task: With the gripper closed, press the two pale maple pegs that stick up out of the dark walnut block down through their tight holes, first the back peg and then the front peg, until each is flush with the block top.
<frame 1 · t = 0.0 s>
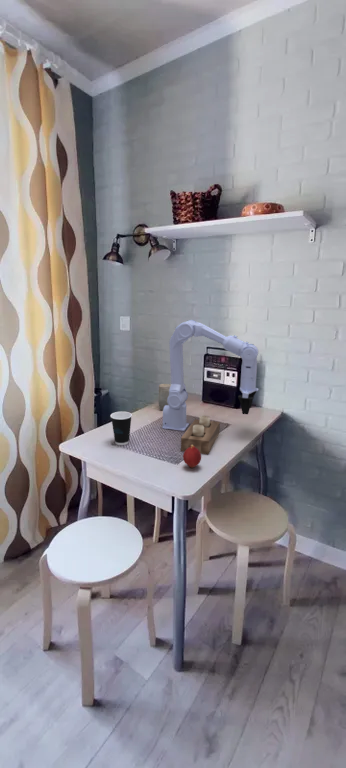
hand: (246, 410, 150), 10 cm above the table, tool pointing down, fingers open, 7 cm apart
carving: (165, 409, 183), on the table
walnut block: (201, 441, 146), on the table
dixie cup: (122, 443, 145), on the table
peg front: (198, 432, 140), point 6 cm above the table, slide at 0.0 cm
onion: (192, 467, 126), on the table
peg back: (204, 423, 149), point 6 cm above the table, slide at 0.0 cm
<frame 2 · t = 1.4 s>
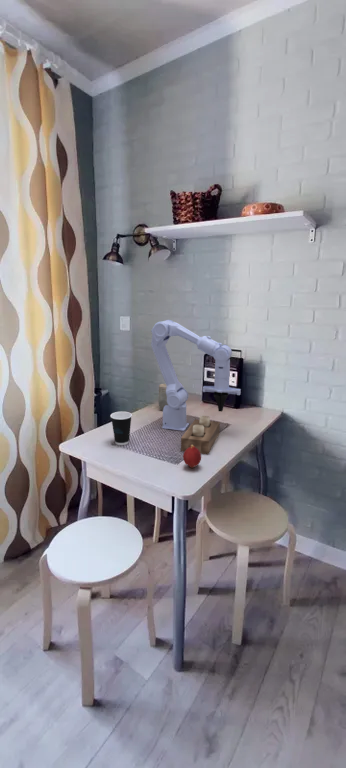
hand: (220, 410, 153), 9 cm above the table, tool pointing down, fingers closed
nothing on the table moved.
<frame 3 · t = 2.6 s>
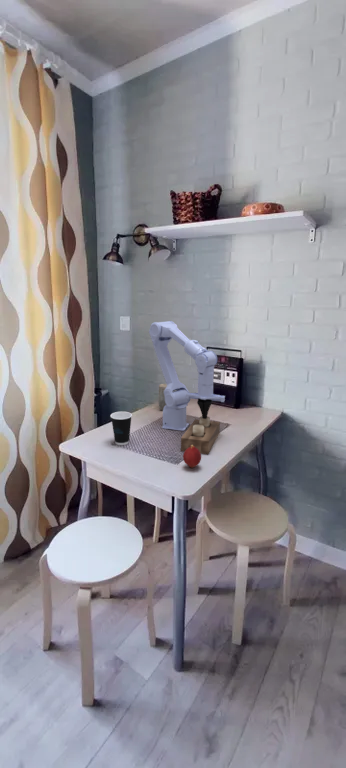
hand: (204, 417, 149), 8 cm above the table, tool pointing down, fingers closed, pressing on peg back
peg back: (204, 423, 149), point 6 cm above the table, slide at 0.1 cm, touching gripper
everything else where it was.
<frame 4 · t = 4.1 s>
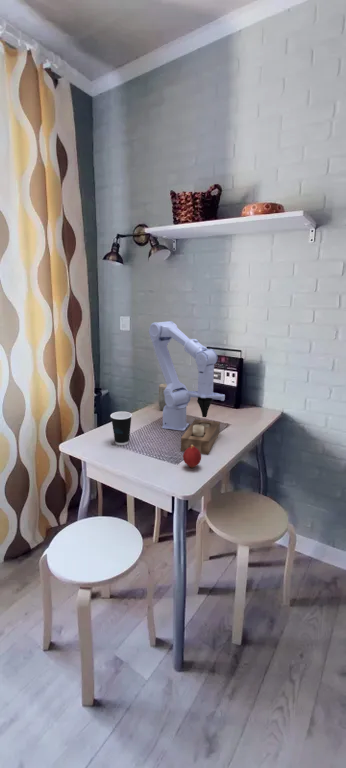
hand: (204, 416, 149), 8 cm above the table, tool pointing down, fingers closed
peg back: (204, 430, 150), point 3 cm above the table, slide at 3.2 cm
everything else where it was.
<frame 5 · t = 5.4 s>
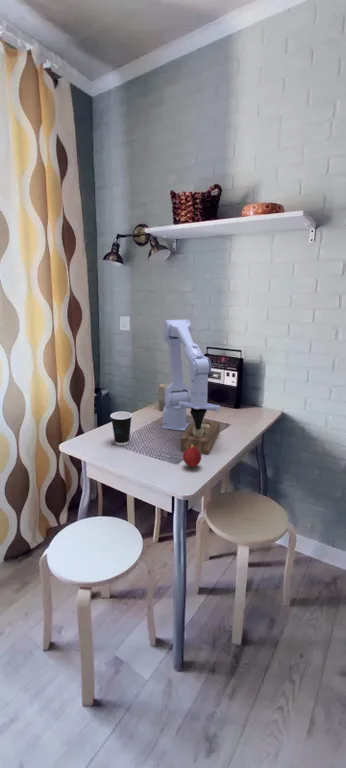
hand: (198, 428, 140), 7 cm above the table, tool pointing down, fingers closed, pressing on peg front
peg front: (198, 434, 140), point 5 cm above the table, slide at 0.6 cm, touching gripper
everything else where it was.
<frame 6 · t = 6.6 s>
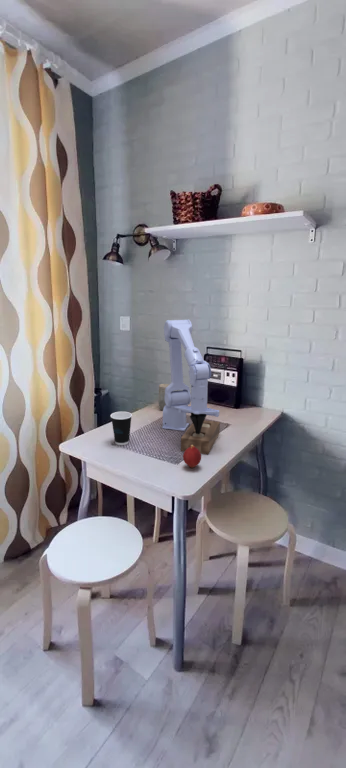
hand: (198, 432, 140), 6 cm above the table, tool pointing down, fingers closed
peg front: (198, 440, 141), point 3 cm above the table, slide at 3.2 cm
everything else where it was.
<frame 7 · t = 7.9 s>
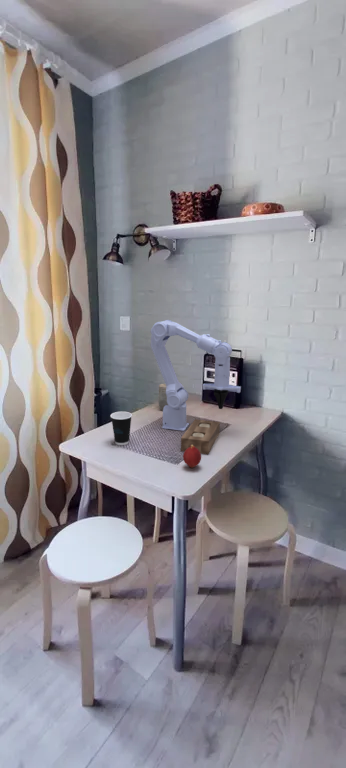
hand: (220, 408, 152), 10 cm above the table, tool pointing down, fingers closed
nothing on the table moved.
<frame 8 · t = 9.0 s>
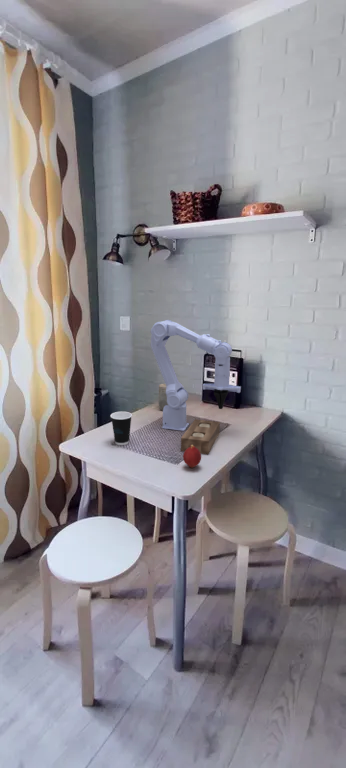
hand: (220, 408, 152), 10 cm above the table, tool pointing down, fingers closed
nothing on the table moved.
at the end: peg back slide at 3.2 cm; peg front slide at 3.2 cm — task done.
